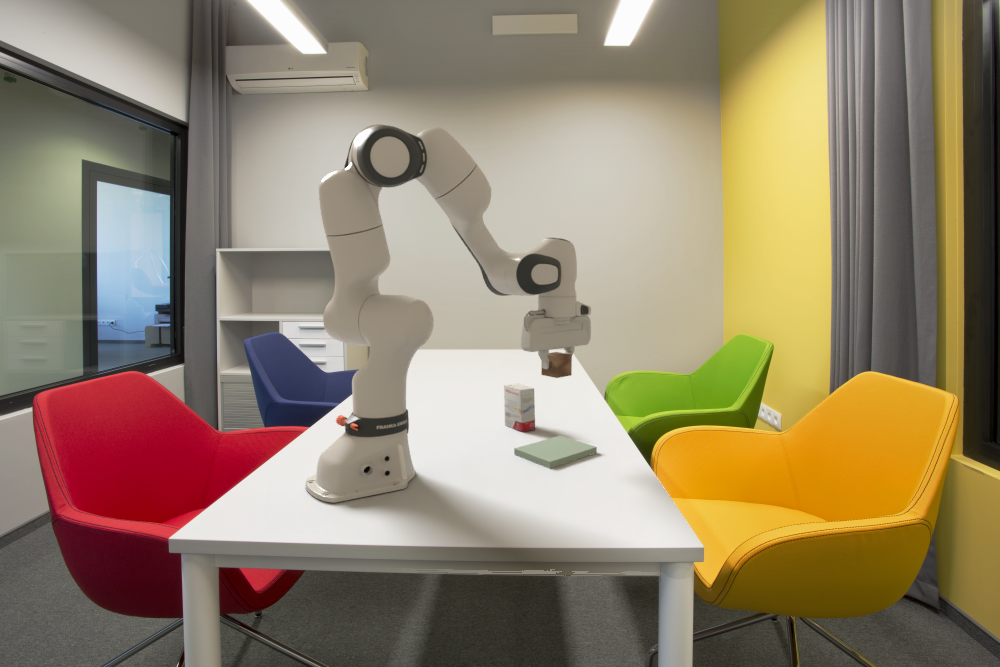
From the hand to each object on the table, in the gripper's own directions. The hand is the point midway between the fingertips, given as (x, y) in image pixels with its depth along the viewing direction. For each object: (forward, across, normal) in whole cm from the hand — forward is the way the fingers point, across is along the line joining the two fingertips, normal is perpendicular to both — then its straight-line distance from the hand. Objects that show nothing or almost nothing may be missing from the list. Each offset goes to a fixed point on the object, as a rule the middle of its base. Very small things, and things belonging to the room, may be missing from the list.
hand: (556, 367), depth 128 cm
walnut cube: (+2, 0, 0) cm, 2 cm away
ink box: (+22, +8, +22) cm, 32 cm away
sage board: (+21, 0, 0) cm, 21 cm away
